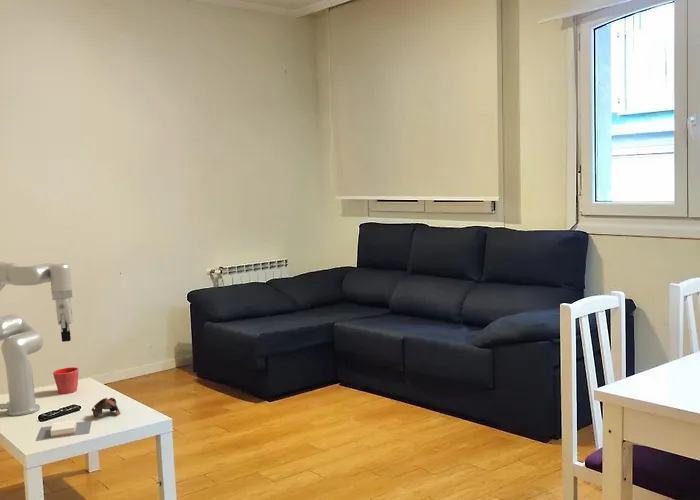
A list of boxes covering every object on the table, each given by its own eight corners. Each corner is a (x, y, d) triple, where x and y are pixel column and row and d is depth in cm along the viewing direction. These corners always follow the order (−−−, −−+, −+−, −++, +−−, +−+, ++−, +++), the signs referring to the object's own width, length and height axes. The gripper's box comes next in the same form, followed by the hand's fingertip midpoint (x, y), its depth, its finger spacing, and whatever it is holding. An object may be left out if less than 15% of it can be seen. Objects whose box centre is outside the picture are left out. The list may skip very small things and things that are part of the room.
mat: (35, 442, 262) (35, 440, 262) (41, 429, 277) (40, 427, 277) (89, 435, 266) (89, 433, 266) (91, 422, 282) (91, 420, 282)
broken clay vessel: (118, 420, 283) (105, 404, 281) (98, 431, 285) (85, 415, 283) (127, 404, 295) (115, 388, 292) (108, 414, 296) (95, 398, 294)
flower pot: (49, 395, 325) (47, 373, 324) (63, 388, 335) (61, 367, 334) (72, 395, 323) (70, 373, 322) (85, 388, 334) (83, 366, 333)
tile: (54, 428, 274) (51, 437, 264) (53, 422, 274) (50, 430, 264) (76, 425, 276) (74, 434, 267) (76, 419, 276) (74, 427, 266)
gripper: (70, 296, 286) (75, 343, 287) (73, 291, 300) (77, 336, 302) (49, 298, 284) (54, 345, 285) (53, 293, 298) (58, 338, 299)
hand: (66, 340), depth 293 cm, fingers closed
